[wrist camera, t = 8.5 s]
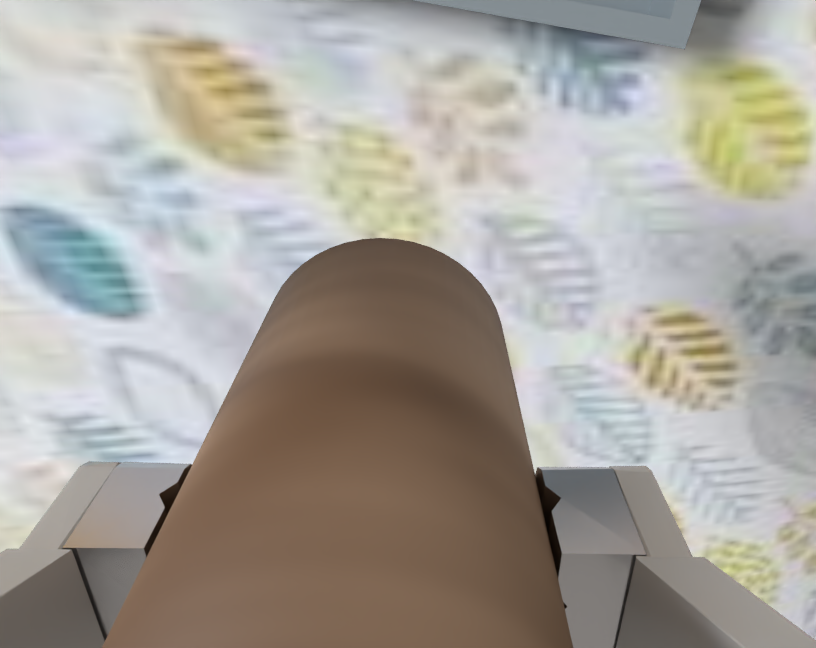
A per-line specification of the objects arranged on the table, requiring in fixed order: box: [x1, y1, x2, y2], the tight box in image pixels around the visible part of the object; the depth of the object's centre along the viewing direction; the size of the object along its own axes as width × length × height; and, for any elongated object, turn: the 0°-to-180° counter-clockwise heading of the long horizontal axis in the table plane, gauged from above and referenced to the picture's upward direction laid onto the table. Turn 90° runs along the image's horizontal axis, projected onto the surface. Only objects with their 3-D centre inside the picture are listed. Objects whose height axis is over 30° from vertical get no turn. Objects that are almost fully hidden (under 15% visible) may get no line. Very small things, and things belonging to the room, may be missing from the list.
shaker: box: [102, 238, 573, 648], centre depth 8 cm, size 5×5×10 cm
